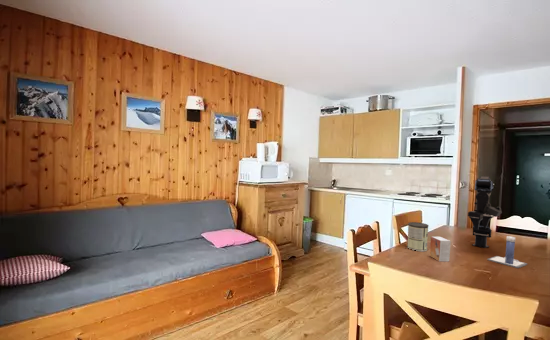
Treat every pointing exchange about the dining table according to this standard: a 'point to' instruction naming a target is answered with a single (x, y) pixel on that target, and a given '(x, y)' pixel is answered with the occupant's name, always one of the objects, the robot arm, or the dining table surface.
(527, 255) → the dining table surface
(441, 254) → the small box
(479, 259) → the dining table surface
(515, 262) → the clipboard
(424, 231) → the coffee can
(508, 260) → the marker
